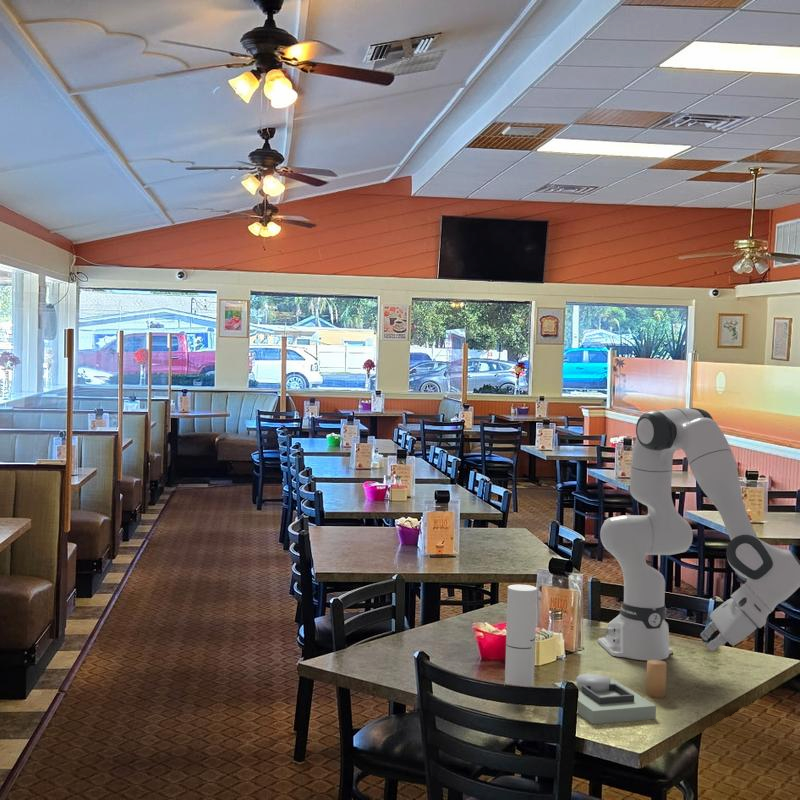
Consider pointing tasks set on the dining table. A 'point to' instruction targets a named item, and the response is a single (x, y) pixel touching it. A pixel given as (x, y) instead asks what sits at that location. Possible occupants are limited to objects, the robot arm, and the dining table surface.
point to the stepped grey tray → (610, 701)
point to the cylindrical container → (520, 635)
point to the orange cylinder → (656, 679)
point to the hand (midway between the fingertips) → (705, 643)
